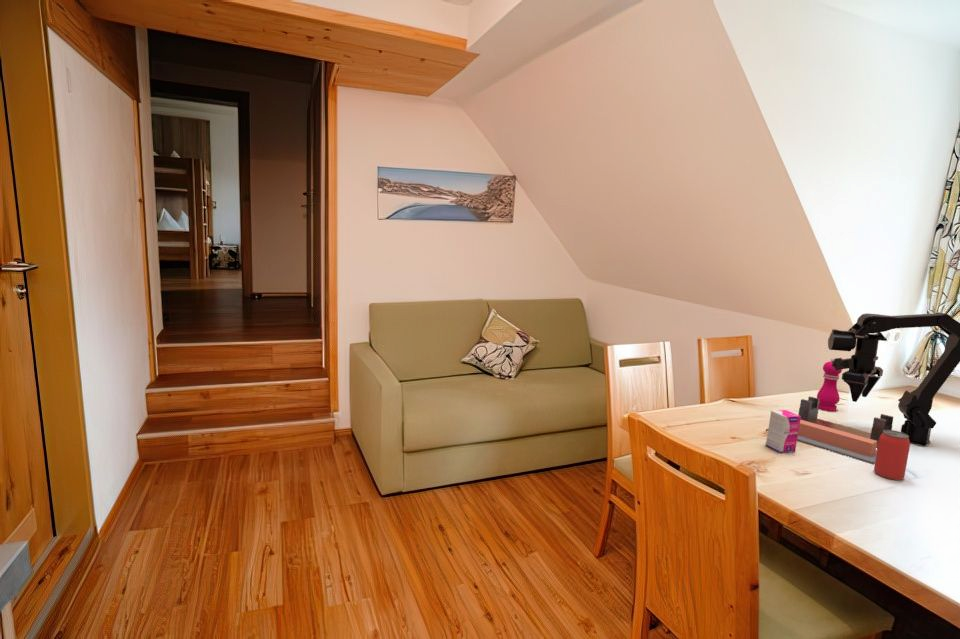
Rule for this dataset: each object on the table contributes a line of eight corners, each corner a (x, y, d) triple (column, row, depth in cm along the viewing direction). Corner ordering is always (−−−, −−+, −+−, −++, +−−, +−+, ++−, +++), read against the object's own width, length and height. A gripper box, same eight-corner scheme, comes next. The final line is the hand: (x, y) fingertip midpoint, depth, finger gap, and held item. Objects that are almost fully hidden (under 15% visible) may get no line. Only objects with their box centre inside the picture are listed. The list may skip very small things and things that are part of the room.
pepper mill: (841, 412, 196) (849, 360, 193) (819, 411, 197) (827, 359, 194) (832, 407, 203) (840, 356, 200) (812, 405, 204) (819, 354, 201)
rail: (875, 453, 156) (877, 441, 156) (870, 456, 154) (872, 443, 153) (783, 426, 177) (784, 415, 176) (777, 428, 174) (779, 417, 174)
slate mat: (887, 455, 157) (888, 453, 157) (873, 464, 150) (873, 462, 150) (782, 424, 181) (782, 422, 181) (765, 431, 174) (765, 429, 174)
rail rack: (898, 445, 166) (902, 417, 164) (887, 451, 160) (892, 423, 158) (802, 418, 188) (805, 394, 186) (789, 423, 182) (792, 398, 180)
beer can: (874, 467, 148) (881, 427, 146) (904, 475, 144) (911, 433, 142) (872, 475, 143) (879, 433, 141) (903, 483, 138) (911, 440, 137)
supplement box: (780, 453, 155) (785, 416, 153) (764, 446, 161) (769, 410, 159) (796, 452, 157) (801, 415, 155) (780, 444, 162) (785, 409, 160)
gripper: (847, 345, 183) (841, 388, 185) (826, 351, 171) (820, 397, 174) (886, 351, 174) (879, 396, 176) (867, 358, 162) (860, 406, 165)
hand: (859, 399), depth 173 cm, fingers open, 9 cm apart
